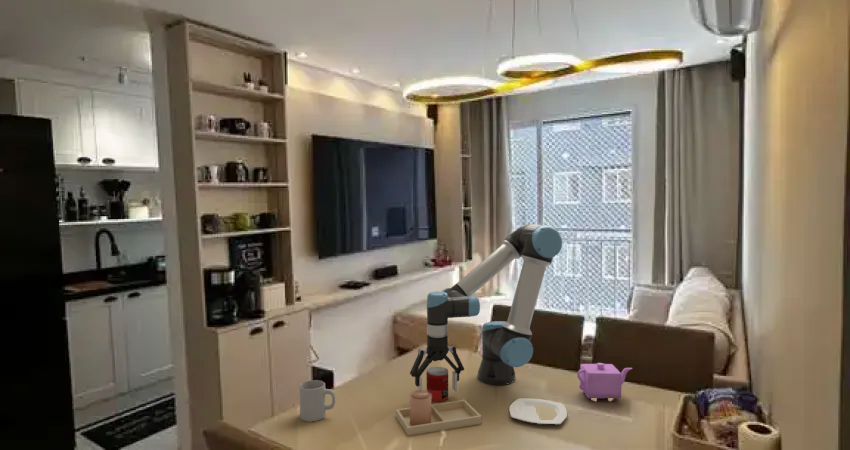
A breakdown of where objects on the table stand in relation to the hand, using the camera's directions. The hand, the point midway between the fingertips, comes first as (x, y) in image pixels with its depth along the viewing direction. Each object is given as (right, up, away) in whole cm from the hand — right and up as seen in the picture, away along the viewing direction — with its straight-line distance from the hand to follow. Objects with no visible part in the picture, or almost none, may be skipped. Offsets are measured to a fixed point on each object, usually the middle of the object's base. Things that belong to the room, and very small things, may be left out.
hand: (437, 392), depth 184 cm
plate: (+34, -4, -13) cm, 36 cm away
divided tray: (0, -4, -18) cm, 18 cm away
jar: (-6, -3, -20) cm, 21 cm away
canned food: (0, -3, 0) cm, 3 cm away
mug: (-41, -4, -14) cm, 43 cm away
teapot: (+62, -3, +2) cm, 62 cm away
